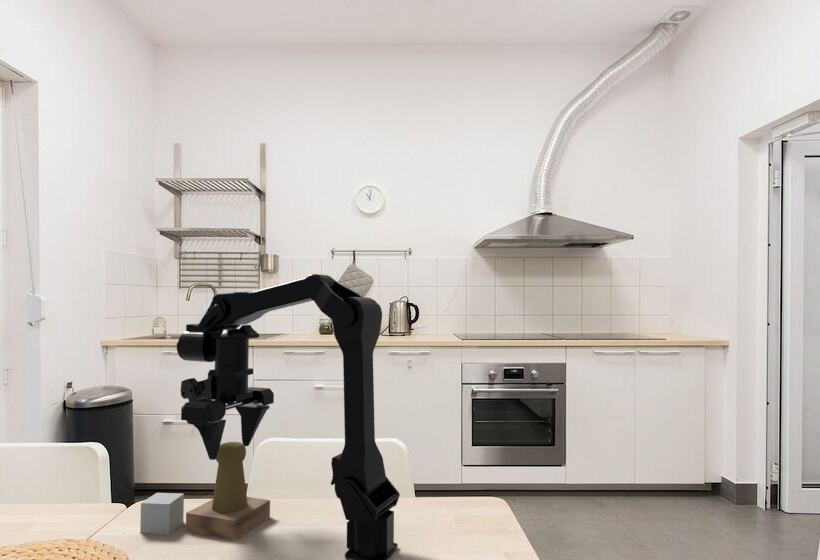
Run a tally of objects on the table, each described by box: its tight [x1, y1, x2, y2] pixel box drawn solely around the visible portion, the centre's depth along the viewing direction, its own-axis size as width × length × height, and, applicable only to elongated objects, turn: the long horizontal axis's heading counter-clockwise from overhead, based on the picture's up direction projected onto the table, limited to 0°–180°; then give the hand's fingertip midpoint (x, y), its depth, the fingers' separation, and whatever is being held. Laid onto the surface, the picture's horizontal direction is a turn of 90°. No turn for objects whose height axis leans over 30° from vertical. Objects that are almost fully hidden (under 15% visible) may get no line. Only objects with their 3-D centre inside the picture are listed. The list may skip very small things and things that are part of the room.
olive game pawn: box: [212, 441, 248, 513], centre depth 97 cm, size 6×6×11 cm
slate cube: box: [139, 492, 185, 535], centre depth 95 cm, size 5×5×5 cm
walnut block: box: [185, 496, 271, 540], centre depth 96 cm, size 10×10×3 cm
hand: (229, 452), depth 97 cm, fingers open, 9 cm apart
